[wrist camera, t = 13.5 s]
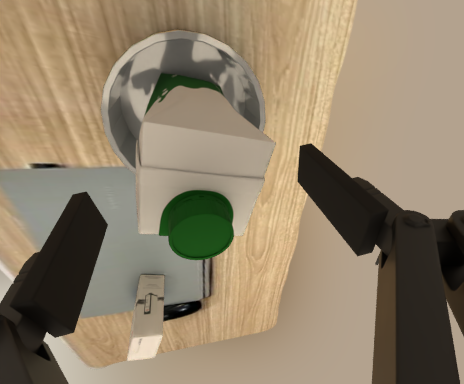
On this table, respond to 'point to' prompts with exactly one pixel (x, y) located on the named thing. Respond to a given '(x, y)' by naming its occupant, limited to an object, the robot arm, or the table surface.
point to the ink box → (147, 318)
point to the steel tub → (179, 63)
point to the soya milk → (197, 167)
